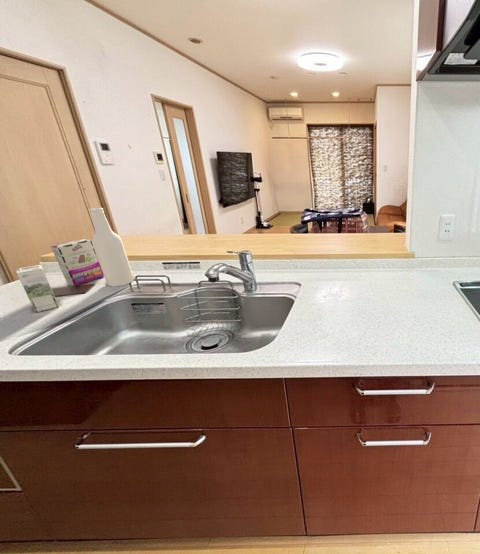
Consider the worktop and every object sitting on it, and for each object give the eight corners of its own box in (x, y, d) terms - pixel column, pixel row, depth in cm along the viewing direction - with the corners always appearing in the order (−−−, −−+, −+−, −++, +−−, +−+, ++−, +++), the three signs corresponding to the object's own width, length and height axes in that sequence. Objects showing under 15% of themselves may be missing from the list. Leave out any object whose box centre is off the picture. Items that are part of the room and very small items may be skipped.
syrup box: (57, 302, 104) (40, 263, 99) (59, 307, 101) (42, 267, 95) (33, 308, 100) (14, 268, 95) (35, 313, 97) (15, 272, 91)
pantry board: (36, 299, 106) (35, 298, 106) (50, 289, 114) (49, 288, 114) (85, 293, 111) (84, 292, 111) (95, 284, 119) (95, 283, 119)
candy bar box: (97, 275, 128) (83, 238, 121) (105, 276, 126) (92, 239, 120) (66, 285, 118) (49, 245, 112) (74, 286, 116) (58, 246, 110)
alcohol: (138, 281, 122) (115, 208, 110) (112, 288, 115) (84, 211, 103) (129, 276, 126) (106, 205, 115) (104, 283, 119) (76, 209, 108)
